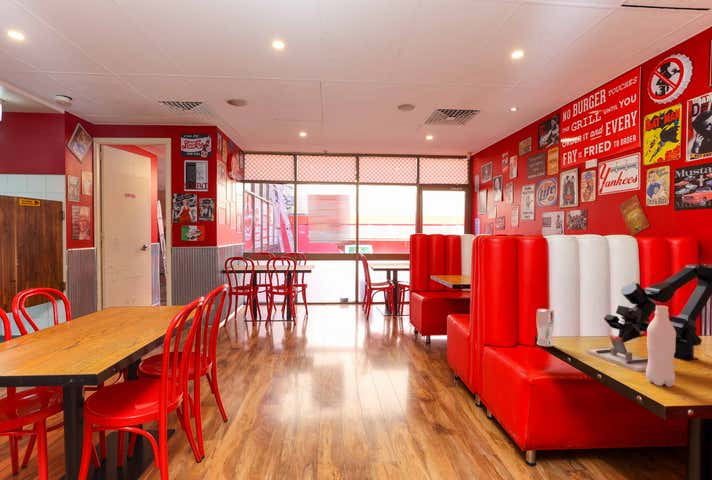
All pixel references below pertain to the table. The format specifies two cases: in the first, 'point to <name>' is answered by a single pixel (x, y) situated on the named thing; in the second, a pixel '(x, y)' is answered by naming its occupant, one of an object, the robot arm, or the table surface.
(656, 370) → the water bottle
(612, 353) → the plate
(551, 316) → the beer glass
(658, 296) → the robot arm
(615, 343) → the lever
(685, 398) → the table surface
